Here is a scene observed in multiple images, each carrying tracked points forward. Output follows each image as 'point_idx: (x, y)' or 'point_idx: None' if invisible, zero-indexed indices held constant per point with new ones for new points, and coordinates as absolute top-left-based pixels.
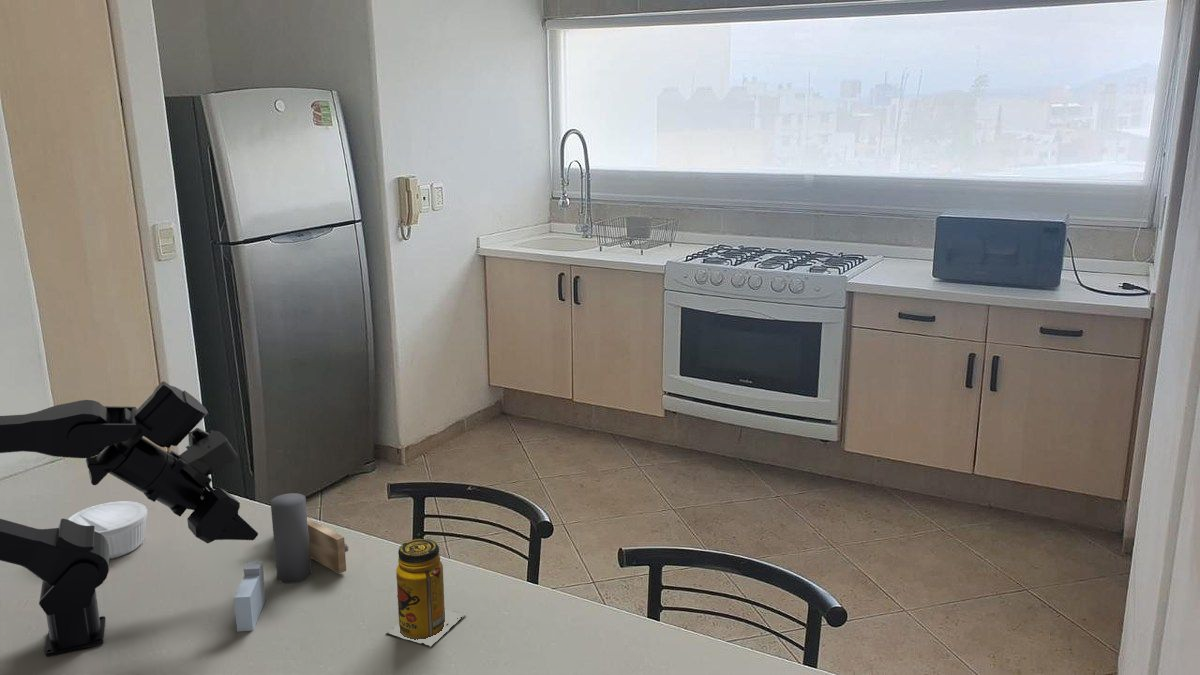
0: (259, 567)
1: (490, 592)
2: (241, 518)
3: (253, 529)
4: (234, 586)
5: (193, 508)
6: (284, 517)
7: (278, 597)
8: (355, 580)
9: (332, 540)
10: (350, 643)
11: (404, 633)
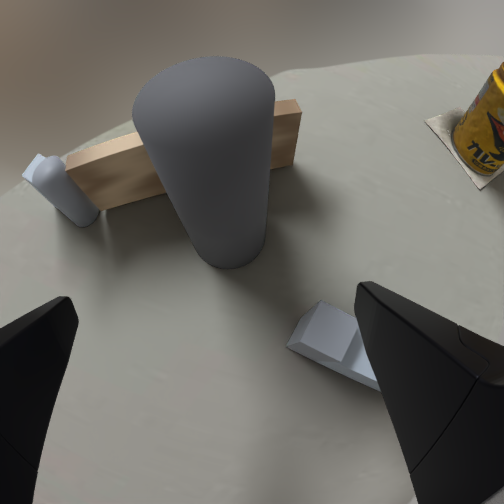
0: (354, 317)
1: (419, 71)
2: (496, 345)
3: (399, 296)
4: (197, 358)
5: (34, 471)
6: (263, 151)
7: (305, 291)
8: (319, 154)
9: (281, 120)
10: (486, 236)
11: (488, 173)
